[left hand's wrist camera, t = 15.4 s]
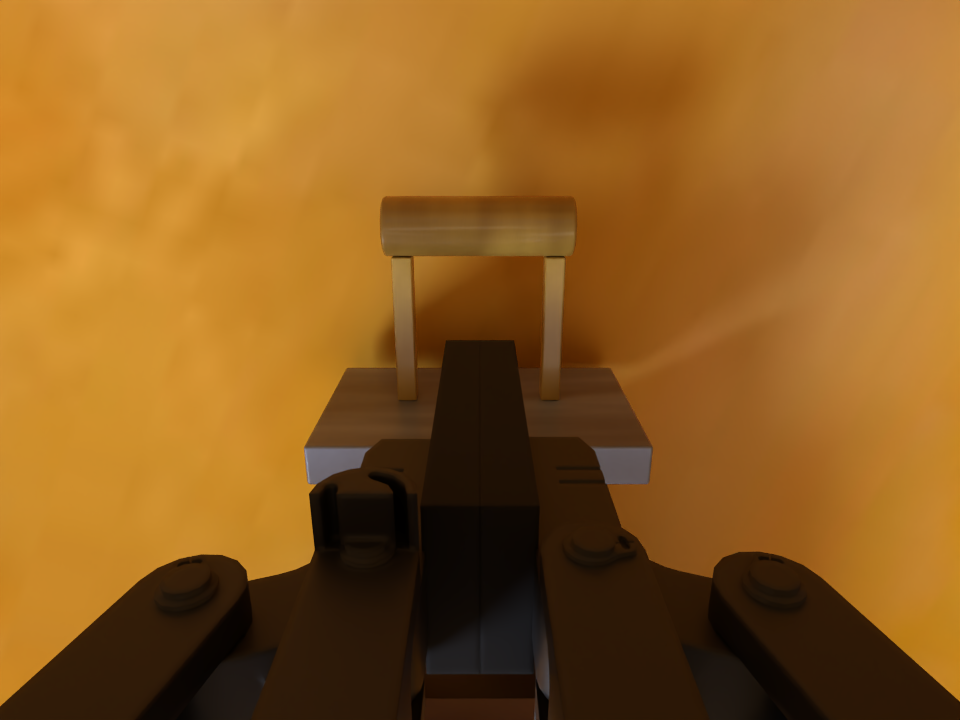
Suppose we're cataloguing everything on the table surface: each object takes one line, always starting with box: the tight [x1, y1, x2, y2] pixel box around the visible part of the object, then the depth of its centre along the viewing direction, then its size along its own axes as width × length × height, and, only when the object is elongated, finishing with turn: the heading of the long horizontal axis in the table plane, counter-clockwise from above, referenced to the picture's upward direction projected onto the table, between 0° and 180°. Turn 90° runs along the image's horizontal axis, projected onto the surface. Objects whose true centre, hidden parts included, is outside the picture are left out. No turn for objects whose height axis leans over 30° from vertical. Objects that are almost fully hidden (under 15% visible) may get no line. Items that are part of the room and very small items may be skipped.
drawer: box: [304, 196, 653, 698], centre depth 22 cm, size 23×10×6 cm, turn 0°
